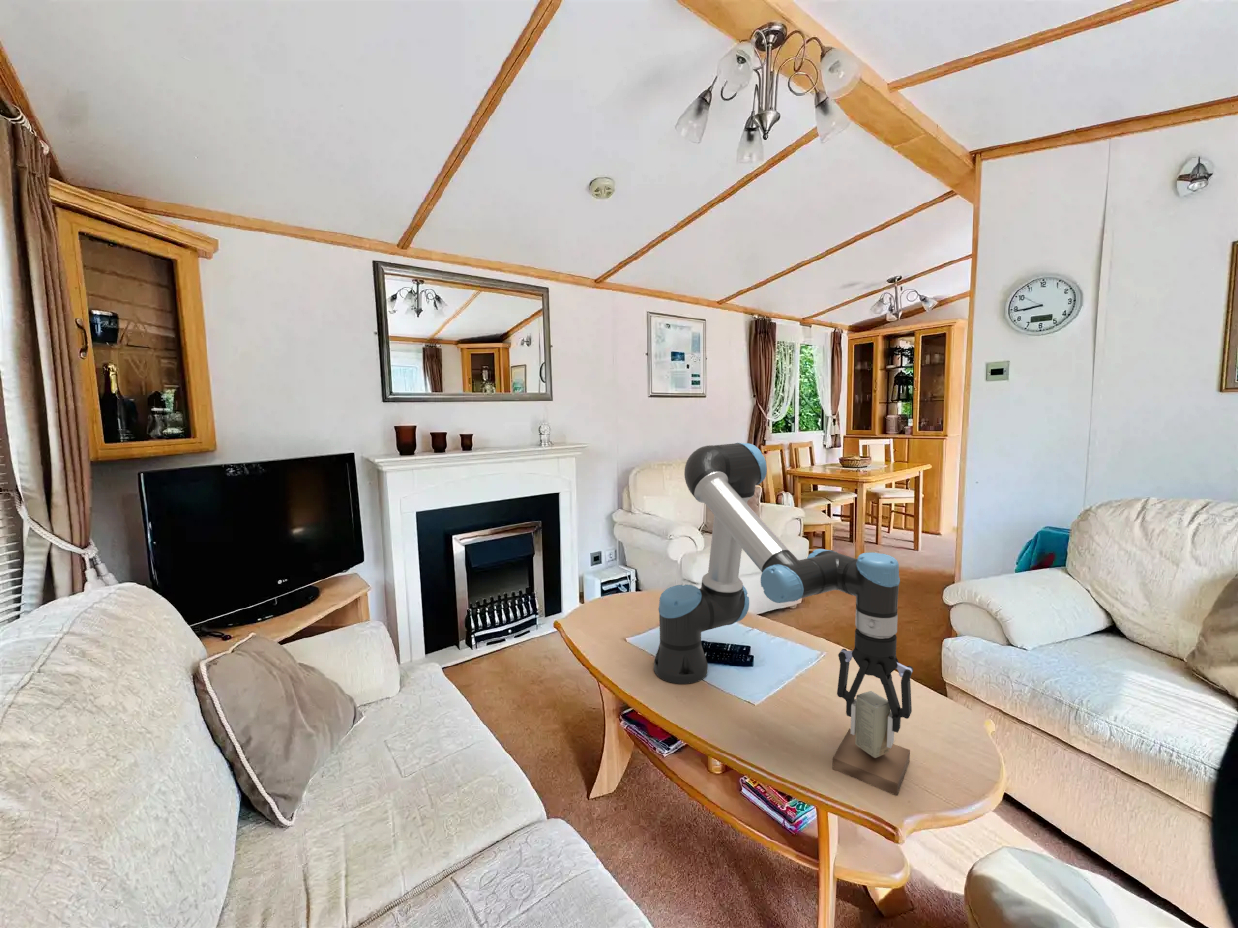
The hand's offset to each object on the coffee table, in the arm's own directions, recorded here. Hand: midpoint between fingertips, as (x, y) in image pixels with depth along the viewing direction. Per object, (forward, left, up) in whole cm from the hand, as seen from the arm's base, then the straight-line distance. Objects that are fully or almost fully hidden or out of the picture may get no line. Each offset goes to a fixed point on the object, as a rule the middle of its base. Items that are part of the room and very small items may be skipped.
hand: (871, 737), depth 107 cm
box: (0, 0, -3) cm, 3 cm away
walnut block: (0, 0, -7) cm, 7 cm away
